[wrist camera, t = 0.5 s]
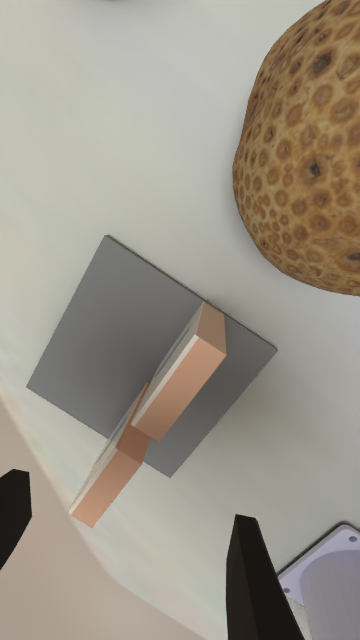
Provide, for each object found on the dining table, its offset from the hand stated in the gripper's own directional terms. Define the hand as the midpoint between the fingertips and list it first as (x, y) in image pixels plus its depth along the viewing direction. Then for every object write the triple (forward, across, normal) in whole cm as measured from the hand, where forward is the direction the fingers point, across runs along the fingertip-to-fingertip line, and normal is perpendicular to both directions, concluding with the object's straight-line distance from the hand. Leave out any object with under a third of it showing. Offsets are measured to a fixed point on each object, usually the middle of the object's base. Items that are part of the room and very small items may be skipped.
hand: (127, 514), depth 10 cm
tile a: (+9, -1, -3) cm, 10 cm away
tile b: (+9, +2, +3) cm, 10 cm away
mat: (+10, +2, -1) cm, 10 cm away
